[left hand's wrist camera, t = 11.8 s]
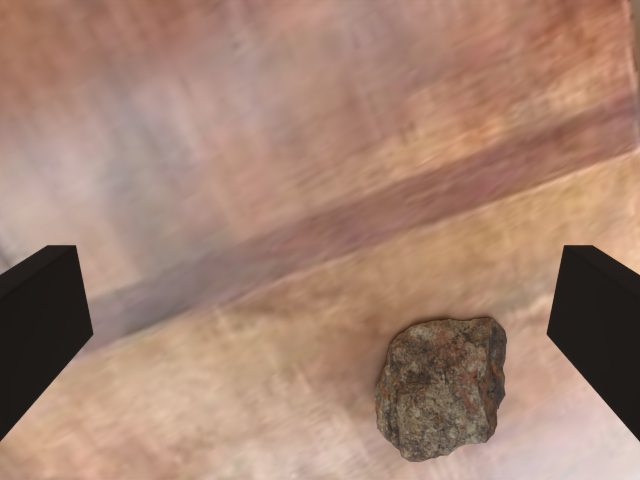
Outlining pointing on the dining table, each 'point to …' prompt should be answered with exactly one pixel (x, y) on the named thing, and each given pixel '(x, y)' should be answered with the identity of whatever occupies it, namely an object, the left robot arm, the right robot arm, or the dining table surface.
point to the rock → (441, 387)
